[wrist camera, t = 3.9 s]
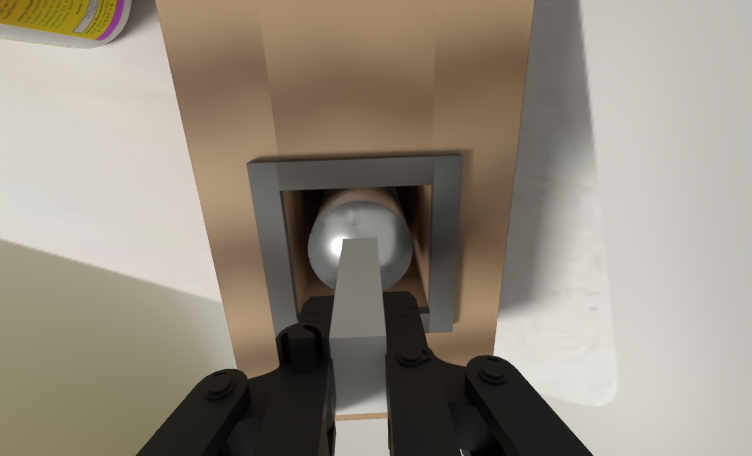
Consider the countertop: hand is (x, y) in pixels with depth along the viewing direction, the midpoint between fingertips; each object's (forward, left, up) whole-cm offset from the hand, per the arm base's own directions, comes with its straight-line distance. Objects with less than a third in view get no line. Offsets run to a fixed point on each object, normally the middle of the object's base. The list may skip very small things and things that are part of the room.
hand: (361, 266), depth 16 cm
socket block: (0, 0, -9) cm, 9 cm away
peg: (0, 0, -9) cm, 9 cm away
